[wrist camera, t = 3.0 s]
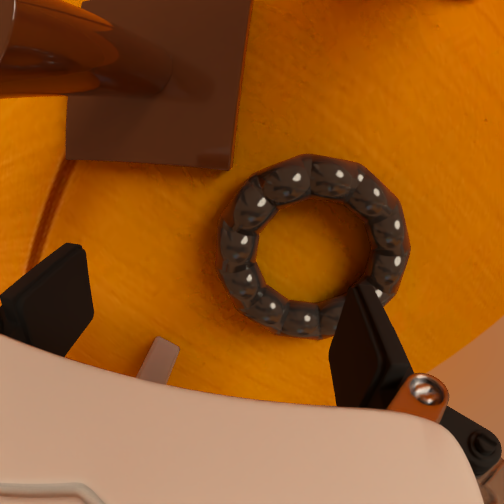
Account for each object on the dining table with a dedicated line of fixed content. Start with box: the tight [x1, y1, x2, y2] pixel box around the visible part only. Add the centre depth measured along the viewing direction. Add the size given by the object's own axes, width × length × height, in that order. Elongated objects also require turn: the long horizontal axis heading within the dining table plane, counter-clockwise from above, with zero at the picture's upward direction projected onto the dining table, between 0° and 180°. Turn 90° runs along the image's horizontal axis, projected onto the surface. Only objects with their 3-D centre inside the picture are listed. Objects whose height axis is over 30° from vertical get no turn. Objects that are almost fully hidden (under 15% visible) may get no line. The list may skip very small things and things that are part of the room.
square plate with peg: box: [0, 0, 254, 171], centre depth 8 cm, size 9×9×11 cm
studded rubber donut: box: [215, 154, 411, 340], centre depth 15 cm, size 10×10×2 cm
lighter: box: [136, 337, 180, 385], centre depth 17 cm, size 7×2×8 cm, turn 150°
